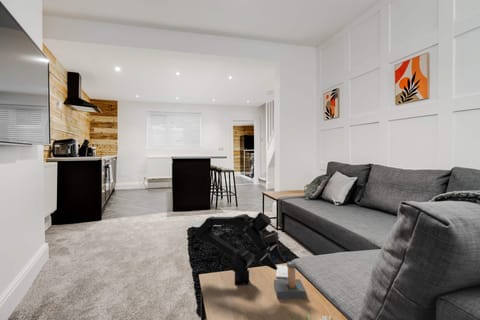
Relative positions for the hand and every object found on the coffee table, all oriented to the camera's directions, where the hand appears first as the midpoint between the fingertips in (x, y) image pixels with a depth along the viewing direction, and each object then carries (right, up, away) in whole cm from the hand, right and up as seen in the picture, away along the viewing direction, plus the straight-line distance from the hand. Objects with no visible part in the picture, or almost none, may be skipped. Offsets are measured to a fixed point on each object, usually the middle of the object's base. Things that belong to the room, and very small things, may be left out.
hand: (280, 265), depth 107 cm
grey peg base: (+4, -11, -1) cm, 12 cm away
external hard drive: (+5, -12, +17) cm, 21 cm away
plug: (+5, -11, -2) cm, 12 cm away
